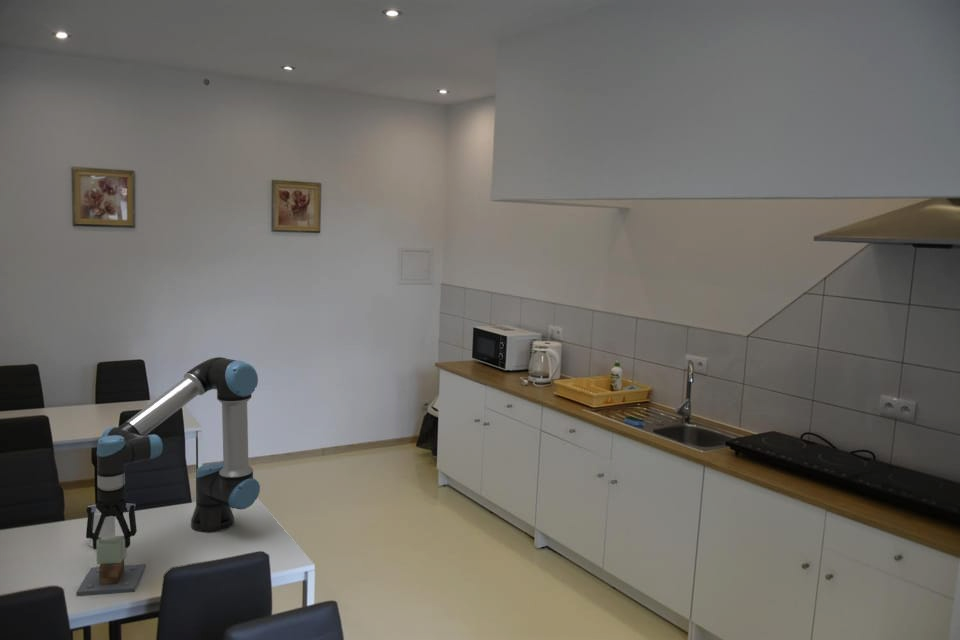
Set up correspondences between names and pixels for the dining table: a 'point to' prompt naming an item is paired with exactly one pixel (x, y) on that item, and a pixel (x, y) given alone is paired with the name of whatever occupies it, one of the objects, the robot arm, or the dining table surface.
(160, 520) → the dining table surface
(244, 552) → the dining table surface
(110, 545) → the sage brick
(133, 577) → the plate
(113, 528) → the mug
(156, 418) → the robot arm
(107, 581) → the walnut brick
